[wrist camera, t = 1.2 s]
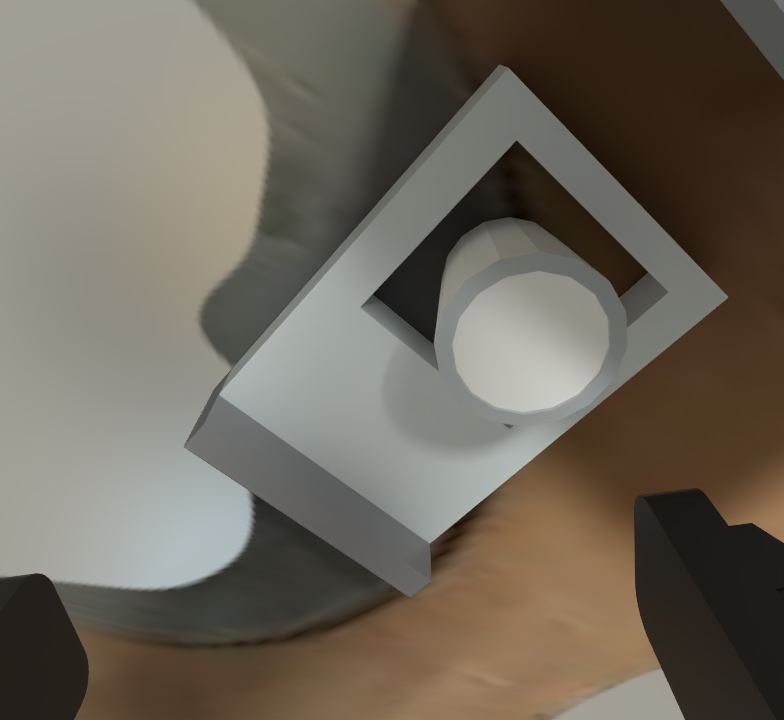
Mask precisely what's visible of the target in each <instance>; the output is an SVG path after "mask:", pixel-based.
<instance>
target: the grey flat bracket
mask: <svg viewBox="0 0 784 720" xmlns="http://www.w3.org/2000/svg"><path fill="white" fill-rule="evenodd" d="M516 140H517V141H518V142H519V143H520V144H521V145H522V146H523V147H524V148H525V149H526V150H527V151H528V152H529V153H530V154H531V155H532V156H533V157H534V158H535V159H536V160H537V161H538V162H539V163H540V164H541V165H542V166H543V167H544V168H545V169H546V170H547V171H548V172H549V173H550V174H551V175H552V176H553V177H554V178H555V179H556V180H557V181H558V182H559V183H560V184H561V185H562V186H563V187H564V188H565V189H566V190H567V191H568V192H569V193H570V194H571V195H572V196H573V197H574V198H575V199H576V200H577V201H578V202H579V203H580V204H581V205H582V206H583V207H584V208H585V209H586V210H587V211H588V212H589V213H590V214H591V215H592V216H593V217H594V218H595V219H596V220H597V221H598V222H599V223H600V224H601V225H602V226H603V227H604V228H605V229H606V230H607V231H608V232H609V233H610V234H611V235H612V236H613V237H614V238H615V239H616V240H617V241H618V242H619V243H620V244H621V245H622V246H623V247H624V248H625V249H626V250H627V251H628V252H629V253H630V254H631V255H632V256H633V257H634V258H635V259H636V260H637V261H638V262H639V263H640V264H641V265H642V266H643V267H644V268H645V269H646V270H647V271H648V273H647V274H646V275H645V276H643V277H642V278H641V279H640V280H639V281H638V282H637V283H636V284H634V285H633V286H632V287H631V288H630V289H629V290H628V291H626V292H625V293H624V294H623V295H622V296H621V297H620V298H619V299H620V301H621V303H622V305H623V307H624V308H625V310H626V318H627V342H628V346H627V349H626V351H625V354H624V356H623V359H622V361H621V364H620V366H619V369H618V371H617V373H616V376H615V378H614V379H613V380H612V382H611V383H610V384H609V385H608V386H607V387H606V388H605V389H604V390H603V391H602V392H601V393H600V394H599V395H598V396H597V397H596V398H595V399H594V401H593V402H592V403H591V404H590V405H588V406H586V407H584V408H582V409H580V410H578V411H576V412H574V413H572V414H570V415H568V416H566V417H565V418H563V419H561V420H559V421H555V422H549V423H542V424H536V425H529V426H523V427H521V426H515V425H510V424H504V423H499V422H493V421H488V420H486V419H484V418H483V417H481V416H479V415H478V414H476V413H474V412H473V411H471V410H469V409H468V408H466V407H464V406H463V405H461V404H459V403H458V401H457V400H456V398H455V397H454V396H453V394H452V393H451V391H450V390H449V389H448V387H447V386H446V384H445V383H444V382H443V380H442V379H441V377H440V374H439V369H438V363H437V358H436V353H435V347H434V344H432V343H431V342H430V341H429V340H428V339H426V338H425V337H424V336H423V335H422V334H420V333H419V332H418V331H417V330H416V329H414V328H413V327H412V326H411V325H409V324H408V323H407V322H406V321H405V320H403V319H402V318H401V317H400V316H399V315H397V314H396V313H395V312H394V311H393V310H391V309H390V308H389V307H388V306H387V305H385V304H384V303H383V302H382V301H380V300H379V299H378V298H377V297H376V296H374V295H373V293H374V292H375V291H376V290H377V289H378V288H379V287H380V286H381V285H382V283H383V282H384V281H385V280H386V279H387V278H388V277H389V276H390V275H391V274H392V273H393V272H394V271H395V270H396V269H397V267H398V266H399V265H400V264H401V263H402V262H403V261H404V260H405V259H406V258H407V257H408V256H409V255H410V254H411V252H412V251H413V250H414V249H415V248H416V247H417V246H418V245H419V244H420V243H421V242H422V241H423V240H424V239H425V238H426V236H427V235H428V234H429V233H430V232H431V231H432V230H433V229H434V228H435V227H436V226H437V225H438V224H439V223H440V222H441V220H442V219H443V218H444V217H445V216H446V215H447V214H448V213H449V212H450V211H451V210H452V209H453V208H454V207H455V205H456V204H457V203H458V202H459V201H460V200H461V199H462V198H463V197H464V196H465V195H466V194H467V193H468V192H469V191H470V189H471V188H472V187H473V186H474V185H475V184H476V183H477V182H478V181H479V180H480V179H481V178H482V177H483V176H484V175H485V173H486V172H487V171H488V170H489V169H490V168H491V167H492V166H493V165H494V164H495V163H496V162H497V161H498V160H499V159H500V157H501V156H502V155H503V154H504V153H505V152H506V151H507V150H508V149H509V148H510V147H511V146H512V145H513V144H514V142H515V141H516ZM727 298H729V297H728V296H727V295H726V294H725V293H724V292H723V291H722V290H721V289H720V288H719V287H718V286H717V285H716V284H715V283H714V282H713V280H712V279H711V278H710V277H709V276H708V275H707V274H706V273H705V272H704V271H703V270H702V269H701V268H700V267H699V266H698V265H697V264H696V263H695V262H694V261H693V260H692V259H691V258H690V256H689V255H688V254H687V253H686V252H685V251H684V250H683V249H682V248H681V247H680V246H679V245H678V244H677V243H676V242H675V241H674V240H673V239H672V238H671V237H670V236H669V235H668V234H667V233H666V231H665V230H664V229H663V228H662V227H661V226H660V225H659V224H658V223H657V222H656V221H655V220H654V219H653V218H652V217H651V216H650V215H649V214H648V213H647V212H646V211H645V210H644V209H643V207H642V206H641V205H640V204H639V203H638V202H637V201H636V200H635V199H634V198H633V197H632V196H631V195H630V194H629V193H628V192H627V191H626V190H625V189H624V188H623V187H622V186H621V185H620V184H619V182H618V181H617V180H616V179H615V178H614V177H613V176H612V175H611V174H610V173H609V172H608V171H607V170H606V169H605V168H604V167H603V166H602V165H601V164H600V163H599V162H598V161H597V160H596V159H595V157H594V156H593V155H592V154H591V153H590V152H589V151H588V150H587V149H586V148H585V147H584V146H583V145H582V144H581V143H580V142H579V141H578V140H577V139H576V138H575V137H574V136H573V135H572V133H571V132H570V131H569V130H568V129H567V128H566V127H565V126H564V125H563V124H562V123H561V122H560V121H559V120H558V119H557V118H556V117H555V116H554V115H553V114H552V113H551V112H550V111H549V110H548V108H547V107H546V106H545V105H544V104H543V103H542V102H541V101H540V100H539V99H538V98H537V97H536V96H535V95H534V94H533V93H532V92H531V91H530V90H529V89H528V88H527V87H526V86H525V84H524V83H523V82H522V81H521V80H520V79H519V78H518V77H517V76H516V75H515V74H514V73H513V72H512V71H511V70H510V69H509V68H508V67H505V66H503V65H500V64H499V65H498V67H497V68H496V69H495V70H494V71H493V72H492V73H491V75H490V76H489V77H488V78H487V79H486V80H485V81H484V82H483V84H482V85H481V86H480V87H479V88H478V89H477V90H476V92H475V93H474V94H473V95H472V96H471V97H470V98H469V100H468V101H467V102H466V103H465V104H464V105H463V106H462V108H461V109H460V110H459V111H458V112H457V113H456V114H455V115H454V117H453V118H452V119H451V120H450V121H449V122H448V123H447V125H446V126H445V127H444V128H443V129H442V130H441V131H440V133H439V134H438V135H437V136H436V137H435V138H434V139H433V141H432V142H431V143H430V144H429V145H428V146H427V147H426V149H425V150H424V151H423V152H422V153H421V154H420V155H419V156H418V158H417V159H416V160H415V161H414V162H413V163H412V164H411V166H410V167H409V168H408V169H407V170H406V171H405V172H404V174H403V175H402V176H401V177H400V178H399V179H398V180H397V182H396V183H395V184H394V185H393V186H392V187H391V188H390V189H389V191H388V192H387V193H386V194H385V195H384V196H383V197H382V199H381V200H380V201H379V202H378V203H377V204H376V205H375V207H374V208H373V209H372V210H371V211H370V212H369V213H368V215H367V216H366V217H365V218H364V219H363V220H362V221H361V222H360V224H359V225H358V226H357V227H356V228H355V229H354V230H353V232H352V233H351V234H350V235H349V236H348V237H347V238H346V240H345V241H344V242H343V243H342V244H341V245H340V246H339V248H338V249H337V250H336V251H335V252H334V253H333V254H332V256H331V257H330V258H329V259H328V260H327V261H326V262H325V263H324V265H323V266H322V267H321V268H320V269H319V270H318V271H317V273H316V274H315V275H314V276H313V277H312V278H311V279H310V281H309V282H308V283H307V284H306V285H305V286H304V287H303V289H302V290H301V291H300V292H299V293H298V294H297V295H296V296H295V298H294V299H293V300H292V301H291V302H290V303H289V304H288V306H287V307H286V308H285V309H284V310H283V311H282V312H281V314H280V315H279V316H278V317H277V318H276V319H275V320H274V322H273V323H272V324H271V325H270V326H269V327H268V328H267V330H266V331H265V332H264V333H263V334H262V335H261V336H260V337H259V339H258V340H257V341H256V342H255V343H254V344H253V345H252V347H251V348H250V349H249V350H248V351H247V352H246V353H245V355H244V356H243V357H242V358H241V359H240V360H239V361H238V363H237V364H236V365H235V366H234V367H233V368H232V369H231V370H230V372H229V373H228V374H227V375H226V376H225V377H224V378H223V380H222V381H221V382H220V383H219V384H218V385H217V386H216V388H215V389H214V390H213V392H212V394H211V396H210V398H209V400H208V402H207V404H206V406H205V407H204V410H203V411H202V414H201V415H200V417H199V419H198V421H197V423H196V424H195V426H194V428H193V430H192V432H191V434H190V436H189V438H188V440H187V441H186V443H185V445H184V448H186V449H188V450H189V451H190V452H192V453H194V454H195V455H197V456H198V457H200V458H201V459H203V460H204V461H206V462H207V463H209V464H210V465H212V466H213V467H215V468H216V469H218V470H219V471H221V472H222V473H224V474H225V475H227V476H228V477H230V478H231V479H233V480H234V481H236V482H237V483H239V484H240V485H242V486H243V487H245V488H246V489H248V490H249V491H251V492H252V493H254V494H255V495H257V496H258V497H260V498H261V499H263V500H264V501H266V502H267V503H269V504H270V505H272V506H273V507H275V508H276V509H278V510H279V511H281V512H282V513H284V514H285V515H287V516H288V517H290V518H291V519H293V520H294V521H296V522H297V523H299V524H300V525H302V526H303V527H305V528H306V529H308V530H309V531H311V532H312V533H314V534H315V535H317V536H318V537H320V538H321V539H323V540H324V541H326V542H327V543H329V544H330V545H332V546H333V547H335V548H336V549H338V550H339V551H341V552H342V553H344V554H345V555H347V556H348V557H350V558H351V559H353V560H354V561H356V562H357V563H359V564H360V565H362V566H363V567H365V568H366V569H368V570H369V571H371V572H372V573H374V574H375V575H377V576H378V577H380V578H381V579H383V580H384V581H386V582H387V583H389V584H390V585H392V586H393V587H395V588H397V589H398V590H400V591H401V592H403V593H404V594H406V595H407V596H409V597H412V596H413V595H414V594H415V593H417V592H418V591H419V590H420V589H422V588H423V587H424V586H425V585H427V584H428V583H429V582H431V559H430V543H431V542H432V541H434V540H435V539H436V538H437V537H438V536H440V535H441V534H442V533H443V532H444V531H446V530H447V529H448V528H449V527H451V526H452V525H453V524H454V523H455V522H457V521H458V520H459V519H460V518H461V517H463V516H464V515H465V514H466V513H468V512H469V511H470V510H471V509H472V508H474V507H475V506H476V505H477V504H478V503H480V502H481V501H482V500H483V499H485V498H486V497H487V496H488V495H489V494H491V493H492V492H493V491H494V490H495V489H497V488H498V487H499V486H500V485H502V484H503V483H504V482H505V481H506V480H508V479H509V478H510V477H511V476H512V475H514V474H515V473H516V472H517V471H519V470H520V469H521V468H522V467H523V466H525V465H526V464H527V463H528V462H529V461H531V460H532V459H533V458H534V457H536V456H537V455H538V454H539V453H540V452H542V451H543V450H544V449H545V448H546V447H548V446H549V445H550V444H551V443H553V442H554V441H555V440H556V439H557V438H559V437H560V436H561V435H562V434H563V433H565V432H566V431H567V430H568V429H569V428H571V427H572V426H573V425H574V424H576V423H577V422H578V421H579V420H580V419H582V418H583V417H584V416H585V415H586V414H588V413H589V412H590V411H591V410H593V409H594V408H595V407H596V406H597V405H599V404H600V403H601V402H602V401H603V400H605V399H606V398H607V397H608V396H610V395H611V394H612V393H613V392H614V391H616V390H617V389H618V388H619V387H620V386H622V385H623V384H624V383H625V382H627V381H628V380H629V379H630V378H631V377H633V376H634V375H635V374H636V373H637V372H639V371H640V370H641V369H642V368H644V367H645V366H646V365H647V364H648V363H650V362H651V361H652V360H653V359H654V358H656V357H657V356H658V355H659V354H661V353H662V352H663V351H664V350H665V349H667V348H668V347H669V346H670V345H671V344H673V343H674V342H675V341H676V340H678V339H679V338H680V337H681V336H682V335H684V334H685V333H686V332H687V331H688V330H690V329H691V328H692V327H693V326H695V325H696V324H697V323H698V322H699V321H701V320H702V319H703V318H704V317H705V316H707V315H708V314H709V313H710V312H712V311H713V310H714V309H715V308H716V307H718V306H719V305H720V304H721V303H722V302H724V301H725V300H726V299H727Z"/></svg>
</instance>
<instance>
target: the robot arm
mask: <svg viewBox="0 0 784 720" xmlns="http://www.w3.org/2000/svg"><path fill="white" fill-rule="evenodd" d="M634 531H635V588H636V597H637V603H638V608H639V612H640V616H641V619H642V623H643V626H644V629H645V632H646V634H647V637H648V639H649V641H650V643H651V646H652V648H653V650H654V652H655V655H656V657H657V659H658V661H659V663H660V666H661V668H662V670H663V672H664V674H665V677H666V679H667V681H668V683H669V685H670V687H671V690H672V692H673V694H674V696H675V699H676V701H677V703H678V705H679V707H680V710H681V712H682V714H683V716H684V718H685V720H784V543H783V542H781V541H779V540H778V539H776V538H775V537H773V536H772V535H770V534H768V533H767V532H765V531H764V530H762V529H761V528H759V527H757V526H756V525H754V524H753V523H749V524H741V525H733V526H728V524H727V523H726V522H725V520H724V519H723V518H722V516H721V515H720V514H719V512H718V511H717V510H716V508H715V507H714V506H713V504H712V503H711V502H710V500H709V499H708V498H707V496H706V495H705V494H704V493H703V492H702V491H701V490H700V489H697V488H693V489H686V490H678V491H670V492H663V493H655V494H648V495H640V496H638V497H637V498H636V500H635V505H634ZM88 674H89V669H88V659H87V655H86V652H85V650H84V648H83V646H82V644H81V641H80V639H79V637H78V635H77V633H76V631H75V629H74V627H73V625H72V623H71V621H70V618H69V616H68V614H67V612H66V610H65V608H64V606H63V604H62V602H61V600H60V598H59V596H58V593H57V591H56V589H55V587H54V585H53V584H52V582H51V580H50V579H49V578H48V577H46V576H45V575H43V574H37V573H36V574H29V575H21V576H14V577H6V578H0V720H74V718H75V716H76V714H77V712H78V710H79V708H80V706H81V704H82V702H83V699H84V697H85V693H86V689H87V685H88Z"/></svg>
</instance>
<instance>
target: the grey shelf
mask: <svg viewBox="0 0 784 720" xmlns="http://www.w3.org/2000/svg"><path fill="white" fill-rule="evenodd" d="M720 1H721V2H722V3H723V5H724V6H725V7H726V8H727V10H728V11H729V12H730V13H731V15H732V16H733V17H734V18H735V20H736V21H737V22H738V23H739V25H740V26H741V27H742V28H743V30H744V31H745V32H746V33H747V35H748V36H749V37H750V38H751V40H752V41H753V42H754V43H755V45H756V46H757V47H758V48H759V50H760V51H761V52H762V54H763V55H764V56H765V57H766V59H767V60H768V61H769V62H770V64H771V65H772V66H773V67H774V69H775V70H776V71H777V72H778V74H779V75H780V76H781V77H782V79H783V80H784V0H720Z"/></svg>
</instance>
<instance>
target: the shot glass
mask: <svg viewBox="0 0 784 720" xmlns="http://www.w3.org/2000/svg"><path fill="white" fill-rule="evenodd" d="M627 346H628V342H627V318H626V310H625V308H624V307H623V305H622V303H621V301H620V299H619V297H618V296H617V294H616V292H615V290H614V288H613V286H612V285H611V283H610V281H609V280H608V279H606V278H605V277H604V276H603V275H602V274H600V273H599V272H598V271H597V270H595V269H594V268H593V267H592V266H590V265H589V264H588V263H587V262H585V261H584V260H583V259H582V258H581V257H579V256H578V255H577V254H576V253H574V252H573V251H572V250H571V249H569V248H568V247H567V246H566V245H564V244H563V243H562V242H561V241H560V240H558V239H557V238H556V237H555V236H553V235H552V234H550V233H549V232H548V231H546V230H545V229H543V228H542V227H541V226H539V225H538V224H536V223H535V222H532V221H527V220H522V219H517V218H512V217H507V218H501V219H496V220H491V221H486V222H483V223H481V224H480V225H478V226H477V227H475V228H473V229H472V230H470V231H469V232H467V233H465V234H464V235H462V237H461V238H460V239H459V241H458V242H457V243H456V245H455V246H454V247H453V249H452V250H451V251H450V253H449V254H448V256H447V260H446V264H445V268H444V272H443V276H442V281H441V290H440V298H439V306H438V315H437V323H436V331H435V340H434V347H435V353H436V358H437V363H438V369H439V374H440V377H441V379H442V380H443V382H444V383H445V384H446V386H447V387H448V389H449V390H450V391H451V393H452V394H453V396H454V397H455V398H456V400H457V401H458V403H459V404H461V405H463V406H464V407H466V408H468V409H469V410H471V411H473V412H474V413H476V414H478V415H479V416H481V417H483V418H484V419H486V420H488V421H493V422H499V423H504V424H510V425H515V426H521V427H523V426H529V425H536V424H542V423H549V422H555V421H559V420H561V419H563V418H565V417H566V416H568V415H570V414H572V413H574V412H576V411H578V410H580V409H582V408H584V407H586V406H588V405H590V404H591V403H592V402H593V401H594V399H595V398H596V397H597V396H598V395H599V394H600V393H601V392H602V391H603V390H604V389H605V388H606V387H607V386H608V385H609V384H610V383H611V382H612V380H613V379H614V378H615V376H616V373H617V371H618V369H619V366H620V364H621V361H622V359H623V356H624V354H625V351H626V349H627Z"/></svg>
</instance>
